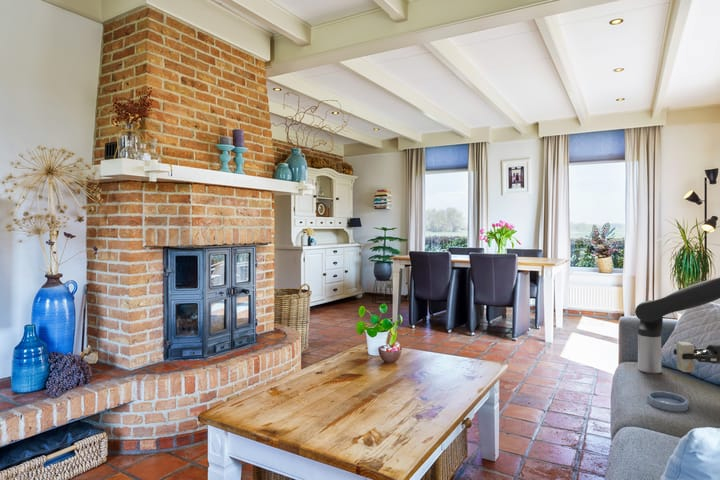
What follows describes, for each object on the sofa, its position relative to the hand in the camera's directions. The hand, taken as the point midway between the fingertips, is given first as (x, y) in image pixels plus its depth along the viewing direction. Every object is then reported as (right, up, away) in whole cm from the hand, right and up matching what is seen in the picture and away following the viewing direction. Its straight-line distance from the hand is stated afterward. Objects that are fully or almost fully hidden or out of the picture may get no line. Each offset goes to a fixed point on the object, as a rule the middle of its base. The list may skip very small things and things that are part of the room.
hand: (678, 354), depth 176 cm
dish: (-9, -18, -6) cm, 21 cm away
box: (+3, -7, 0) cm, 7 cm away
